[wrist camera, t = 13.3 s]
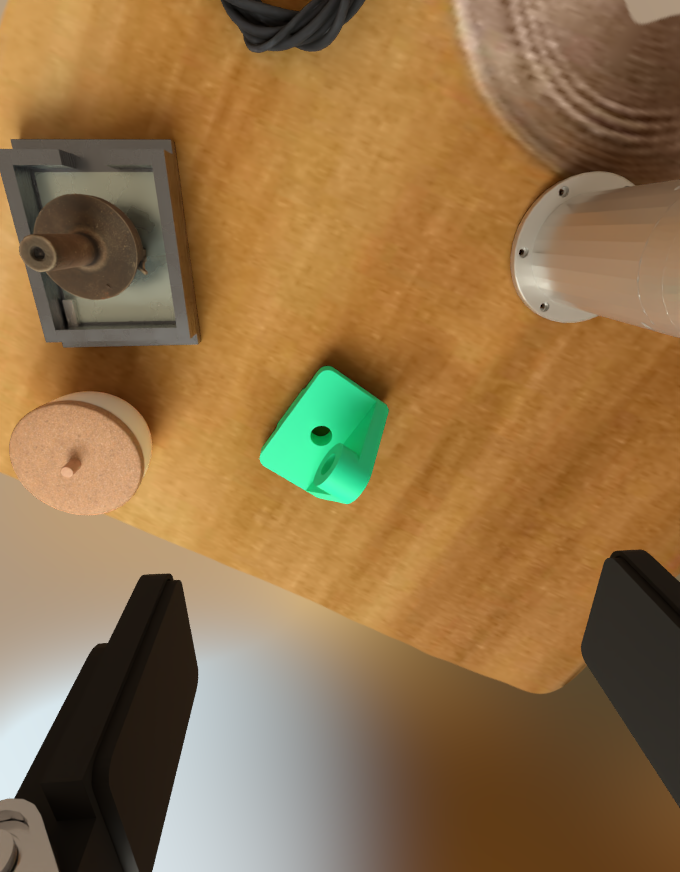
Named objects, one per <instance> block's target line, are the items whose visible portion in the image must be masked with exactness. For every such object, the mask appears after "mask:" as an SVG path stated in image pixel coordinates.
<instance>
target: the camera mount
mask: <svg viewBox="0 0 680 872" xmlns="http://www.w3.org/2000/svg"><path fill="white" fill-rule="evenodd" d="M388 412H389V409H388V407H387V405H386V404H385V403H383V402H382V401H380V400H379V399H378V398H376V397H375V396H373V395H372V394H370V393H369V392H368V391H366V390H365V389H363V388H362V387H360V386H359V385H358V384H356V383H355V382H353V381H352V380H350V379H349V378H348V377H346V376H345V375H343V374H342V373H340V372H339V371H338V370H336V369H335V368H333V367H331V366H324V367H322V368H320V369H319V370H318V371H317V373H316V374H315V376H314V377H313V378H312V380H311V381H310V382H309V384H308V385H307V387H306V388H305V389H304V388H303V389H302V391H301V392H300V393H299V395H298V396H297V398H296V399H295V400H294V402H293V403H292V404H291V406H290V407H289V409H288V410H287V411H286V413H285V414H284V415H283V417H282V418H281V420H280V421H279V422H278V424H277V428H276V429H275V431H274V432H273V433H272V435H271V436H270V437H269V439H268V440H267V442H266V443H265V444H264V446H263V447H262V449H261V454H260V462H261V464H262V465H263V466H265V467H266V468H268V469H270V470H271V471H273V472H275V473H277V474H278V475H280V476H282V477H283V478H285V479H287V480H288V481H290V482H292V483H293V484H295V485H297V486H299V487H300V488H302V489H304V490H305V491H307V492H309V493H310V494H312V495H314V496H315V497H317V498H321V499H325V500H330V501H335V502H340V503H345V504H349V503H351V502H353V501H354V500H356V499H357V498H358V497H359V496H360V494H361V493H362V492H363V490H364V489H365V487H366V486H367V484H368V482H369V480H370V477H371V474H372V471H373V467H374V463H375V460H376V456H377V452H378V448H379V445H380V441H381V437H382V434H383V430H384V426H385V423H386V419H387V415H388ZM317 426H326V427H328V428H329V429H330V432H329V433H328V434H326V435H324V436H317V435H315V434H313V433H312V430H313V429H314V428H315V427H317Z"/></svg>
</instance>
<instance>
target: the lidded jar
mask: <svg viewBox="0 0 680 872" xmlns="http://www.w3.org/2000/svg"><path fill="white" fill-rule="evenodd" d="M9 453H10V459H11V463H12V466H13V469H14V471H15V473H16V475H17V477H18V478H19V480H20V481H21V483H22V484H23V485H24V487H25V488H27V490H28V491H29V492H30V493H31V494H33V495H34V496H35V497H37V498H38V499H39V500H40V501H42V502H44V503H45V504H47V505H49V506H51V507H53V508H56V509H58V510H60V511H64V512H67V513H72V514H77V515H98V514H103V513H107V512H110V511H113V510H115V509H117V508H119V507H121V506H122V505H124V504H125V503H126V502H127V501H129V500H130V498H131V497H132V496H133V495H134V494H135V492H136V491H137V489H138V487H139V485H140V484H141V481H142V479H143V477H144V475H145V473H146V471H147V469H148V466H149V463H150V460H151V454H152V438H151V434H150V430H149V428H148V425H147V423H146V421H145V420H144V418H143V417H142V415H141V414H140V413H139V412H138V411H137V410H136V409H135V408H134V407H133V406H132V405H130V404H129V403H128V402H126V401H125V400H123V399H121V398H119V397H117V396H114V395H111V394H108V393H103V392H95V391H82V392H76V393H71V394H67V395H64V396H62V397H59V398H56V399H54V400H52V401H50V402H48V403H46V404H44V405H42V406H39V407H38V408H36V409H34V410H33V411H31V412H29V413H28V414H26V415H25V416H24V417H23V418H22V419H21V420H20V421H19V422H18V424H17V425H16V427H15V428H14V430H13V433H12V435H11V439H10V444H9Z"/></svg>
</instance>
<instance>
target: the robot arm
mask: <svg viewBox="0 0 680 872" xmlns="http://www.w3.org/2000/svg"><path fill="white" fill-rule="evenodd" d="M559 190H561V195H559ZM520 249H521V250H522V254H521V255H519V251H520ZM511 274H512V280H513V284H514V286H515V289H516V291H517V294H518V295H519V297H520V298H521V300H522V301H523V303H524V304H525V305H526V306H527V307H528V308H529V309H530V310H532V311H533V312H534V313H536V314H538V315H540V316H541V317H543V318H546V319H549V320H552V321H557V322H562V323H576V322H580V321H585V320H589V319H591V318H594V317H596V316H603V317H606V318H610V319H614V320H617V321H621V322H624V323H628V324H632V325H635V326H639V327H642V328H646V329H649V330H653V331H657V332H660V333H664V334H667V335H671V336H674V337H679V338H680V179H679V180H672V181H665V182H658V183H651V184H644V185H638V186H635V185H634V184H633V183H632V182H630V181H629V180H627V179H626V178H624V177H622V176H620V175H617V174H614V173H611V172H602V171H595V172H586V173H581V174H577V175H574V176H571V177H569V178H566V179H564V180H562V181H559V182H558V183H556V184H555V185H553V186H552V187H550V188H549V189H547V190H546V191H545V192H544V193H543V194H542V195H541V196H540V197H539V198H538V199H537V200H536V201H535V202H534V203H533V204H532V206H531V207H530V208H529V210H528V211H527V212H526V213H525V215H524V217H523V219H522V221H521V223H520V225H519V226H518V229H517V232H516V235H515V237H514V240H513V245H512V251H511ZM541 304H543V306H542V307H541V308H540V306H541ZM581 651H582V656H583V658H584V661H585V663H586V664H587V666H588V667H589V669H590V670H591V672H592V674H593V675H594V677H595V678H596V680H597V681H598V683H599V684H600V686H601V687H602V689H603V690H604V692H605V694H606V695H607V696H608V698H609V700H610V701H611V703H612V704H613V706H614V707H615V709H616V710H617V712H618V714H619V715H620V717H621V718H622V720H623V721H624V723H625V724H626V726H627V727H628V729H629V731H630V732H631V734H632V735H633V737H634V738H635V740H636V741H637V743H638V744H639V746H640V747H641V749H642V751H643V752H644V753H645V755H646V757H647V758H648V760H649V761H650V763H651V764H652V766H653V768H654V769H655V770H656V772H657V774H658V775H659V777H660V778H661V780H662V781H663V783H664V784H665V786H666V788H667V789H668V791H669V792H670V794H671V795H672V797H673V798H674V800H675V801H676V803H677V805H678V806H679V808H680V582H679V581H678V580H677V579H676V578H674V577H673V576H672V575H671V574H670V573H669V572H668V571H667V570H666V569H665V568H664V567H663V566H662V565H661V564H660V563H658V562H657V561H656V560H655V559H654V558H653V557H652V556H651V555H650V554H649V553H647V552H646V551H644V550H624V551H615V552H613V553H612V554H611V556H610V558H607V559H606V560H605V562H604V565H603V568H602V572H601V576H600V579H599V583H598V586H597V590H596V594H595V597H594V601H593V604H592V608H591V612H590V615H589V619H588V622H587V626H586V630H585V633H584V637H583V640H582V644H581ZM197 683H198V666H197V661H196V656H195V650H194V645H193V640H192V634H191V629H190V624H189V618H188V613H187V608H186V602H185V597H184V592H183V587H182V583H181V581H180V580H173V576H172V575H171V574H149V575H142V576H141V577H140V579H139V581H138V582H137V584H136V586H135V589H134V591H133V593H132V595H131V597H130V599H129V601H128V603H127V605H126V607H125V609H124V611H123V613H122V616H121V618H120V619H119V621H118V624H117V626H116V628H115V630H114V632H113V634H112V636H111V638H110V640H109V642H108V643H102V644H98V645H96V646H95V647H94V648H93V649H92V651H91V652H90V654H89V656H88V657H87V659H86V661H85V663H84V665H83V667H82V669H81V671H80V673H79V675H78V677H77V679H76V680H75V682H74V684H73V686H72V688H71V690H70V692H69V694H68V696H67V698H66V700H65V702H64V704H63V706H62V707H61V710H60V711H59V713H58V715H57V717H56V719H55V721H54V723H53V725H52V727H51V729H50V731H49V733H48V734H47V736H46V738H45V740H44V742H43V744H42V746H41V748H40V750H39V752H38V754H37V756H36V758H35V760H34V761H33V764H32V765H31V767H30V769H29V771H28V773H27V775H26V777H25V779H24V781H23V783H22V785H21V787H20V789H19V790H18V793H17V794H16V796H15V798H14V799H5V800H1V801H0V872H152V870H153V866H154V862H155V858H156V854H157V850H158V845H159V842H160V837H161V833H162V829H163V825H164V821H165V817H166V812H167V808H168V804H169V800H170V796H171V792H172V787H173V784H174V779H175V776H176V771H177V767H178V763H179V759H180V755H181V751H182V746H183V743H184V739H185V734H186V730H187V726H188V722H189V718H190V714H191V710H192V706H193V702H194V697H195V693H196V689H197Z"/></svg>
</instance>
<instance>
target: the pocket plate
mask: <svg viewBox="0 0 680 872" xmlns="http://www.w3.org/2000/svg"><path fill="white" fill-rule="evenodd" d="M11 143H12V147H13V149H0V173H1V176H2V180H3V184H4V188H5V191H6V195H7V199H8V202H9V206H10V210H11V214H12V217H13V221H14V225H15V229H16V232H17V236H18V240H19V243H20V242H21V241H22V240H23V238H24V237H25V236H27V235H30V234H33V233H34V226H35V221H36V219H37V216H38V215H39V212H40V211H41V210H42V208H43V207H44V206H45V205H46V204H47V203H48V202H50V201H51V200H53V199H54V198H56V197H59V196H62V195H66V194H84V195H91V196H96V197H99V198H102V199H104V200H107V201H108V202H110V203H112V204H114V205H115V206H116V207H118V208H119V209H120V210H121V211H123V212H124V213H125V214H126V215H127V217H128V218H129V219H130V220H131V221H132V223H133V225H134V226H135V228H136V229H137V232H138V234H139V236H140V239H141V242H142V246H143V247H144V248H145V249H146V259H147V262H145V269H146V270H147V271H148V274H147V275H145V274H143V273H142V272H141V271H139V270H138V269H137V271H136V274H135V276H134V279H133V281H132V282H131V284H130V285H129V286H128V287H127V288H126V289H125V290H124V291H123V292H122V293H120V294H119V295H118V296H115V297H112V298H108V299H104V300H90V299H84V298H80V297H78V296H75V295H73V294H71V293H69V292H67V291H65V290H64V289H63V288H61V287H60V286H59V285H57V284H56V283H55V282H54V281H53V280H52V279H51V278H50V277H49V275H48V274H47V273H46V271H45V272H38V271H35V270H33V269H31V268H30V267H28V266H27V265H26V264H25V266H26V269H27V273H28V277H29V281H30V284H31V288H32V292H33V296H34V299H35V303H36V307H37V310H38V314H39V318H40V322H41V325H42V329H43V333H44V337H45V340H46V342H62V344H63V347H105V346H148V345H191V344H199V343H200V342H201V338H200V331H199V323H198V315H197V308H196V300H195V293H194V285H193V277H192V270H191V262H190V255H189V247H188V239H187V232H186V224H185V217H184V209H183V201H182V194H181V186H180V179H179V171H178V164H177V156H176V148H175V142H173V141H172V140H137V139H11Z"/></svg>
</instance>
